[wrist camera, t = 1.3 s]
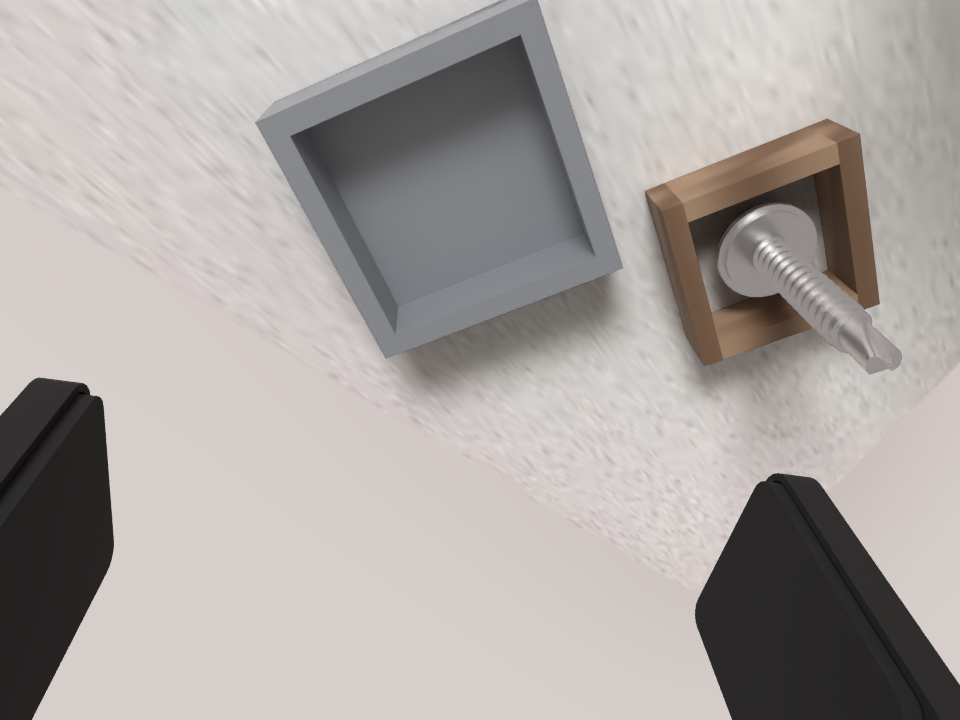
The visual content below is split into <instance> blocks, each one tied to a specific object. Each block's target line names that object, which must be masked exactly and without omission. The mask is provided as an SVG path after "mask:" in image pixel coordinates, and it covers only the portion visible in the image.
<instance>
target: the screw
mask: <svg viewBox="0 0 960 720" xmlns="http://www.w3.org/2000/svg"><path fill="white" fill-rule="evenodd" d="M817 242H818V239H817V231H816V228H815V226H814V223H813V221H812V220H811V219H810V217H809V216H808V215H807V214H806V213H804V212H803V211H802V210H800V209H799V208H798V207H796V206H793V205H791V204H788V203H781V202H773V203H765V204H762V205H758V206H755V207H753V208H751V209H749V210H747V211H745V212H744V213H743V214H741V215H740V216H739V217H737V218H736V219H735V220H734V221H733V222H732V223H731V224H730V226H729V227H728V228H727V229H726V231H725V233H724V234H723V236H722V238H721V240H720V243H719V245H718V249H717V256H716V260H717V268H718V271H719V274H720V276H721V277H722V279H723V280H724V282H725V283H726V284H727V285H728V286H729V287H730V288H731V289H732V290H733V291H735V292H737V293H739V294H741V295H745V296H749V297H765V296H770V295H774V294H776V293H780V294H781V295H782V297H783V298H784V299H786V300H787V302H788V303H789V304H790V305H792V307H793V308H794V309H795V310H796V311H798V313H799V314H800V315H801V316H802V317H803V318H804V319H805V320H806V322H808V323H809V324H810V325H811V326H812V328H813V329H814V330H816V331H817V333H818V334H819V335H820V336H821V337H823V338H824V339H825V340H826V342H828V343H829V344H830V345H833V346H834V347H835V348H836V349H837V350H839V351H841V352H844V353H849V354H850V355H851V356H852V357H853V358H854V359H855V360H856V361H857V362H858V363H859V364H860V365H861V366H862V367H863V368H864V369H865V370H866V371H867V372H868V373H869V374H873V373H876V372H879V371H882V370H886V369H889V370H894V369H896V368H897V367H898V366H899V365H900V363H901V360H902V354H901V351H900V350H899V349H898V348H897V347H896V346H894V345H893V344H892V343H891V342H890V341H889V340H888V339H887V338H885V337H884V336H883V335H882V334H881V333H880V332H879V331H878V330H876V329H875V328H874V327H873V326H872V318H871V316H870V315H869V314H868V313H867V312H865V310H864V308H863V307H862V306H861V305H860V304H858V303H856V301H855V300H854V299H853V298H851V297H849V295H848V294H847V293H846V292H845V291H842V289H841V288H840V287H839V286H838V285H835V283H834V282H833V281H832V280H831V279H829V278H828V277H827V276H826V275H825V274H823V273H822V272H821V271H820V270H819V269H818V268H816V267H815V265H814V264H812V261H813V259H814V256H815V253H816V250H817Z"/></svg>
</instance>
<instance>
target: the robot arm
mask: <svg viewBox="0 0 960 720" xmlns="http://www.w3.org/2000/svg"><path fill="white" fill-rule="evenodd" d="M106 446H107V445H106V432H105V419H104V406H103V401H102V399H101V398H100V397H98V396H91V395H90V391H89V389H88V387H87V385H85V384H83V383H77V382H69V381H61V380H53V379H46V378H36V379H34V380H33V381H32V382H30V383H29V384H28V385H27V387H26V388H25V389H24V390H23V391H22V392H21V393H20V394H19V396H18V397H17V398H16V399H15V400H14V401H13V402H12V403H11V404H10V406H9V407H8V408H7V409H6V410H5V411H4V412H3V413H2V415H1V416H0V720H32V718H33V716H34V714H35V712H36V710H37V708H38V706H39V704H40V702H41V700H42V699H43V696H44V695H45V693H46V691H47V689H48V687H49V685H50V683H51V681H52V679H53V677H54V675H55V673H56V671H57V669H58V667H59V665H60V663H61V661H62V659H63V657H64V655H65V653H66V651H67V649H68V647H69V646H70V644H71V642H72V640H73V638H74V636H75V634H76V632H77V630H78V628H79V626H80V624H81V622H82V620H83V618H84V616H85V614H86V612H87V610H88V608H89V606H90V604H91V602H92V600H93V598H94V596H95V594H96V593H97V590H98V588H99V587H100V585H101V583H102V581H103V579H104V577H105V575H106V573H107V571H108V568H109V566H110V563H111V560H112V555H113V549H114V539H113V524H112V511H111V498H110V485H109V472H108V459H107V447H106ZM695 619H696V624H697V628H698V630H699V633H700V636H701V638H702V641H703V644H704V646H705V649H706V651H707V654H708V656H709V660H710V662H711V665H712V668H713V670H714V673H715V675H716V678H717V681H718V683H719V686H720V689H721V691H722V694H723V697H724V699H725V702H726V705H727V707H728V710H729V713H730V715H731V718H732V720H960V685H959V683H958V682H957V680H956V679H955V678H954V676H953V675H952V673H951V672H950V671H949V669H948V667H947V666H946V665H945V663H944V662H943V660H942V659H941V657H940V656H939V655H938V653H937V652H936V650H935V649H934V647H933V646H932V644H931V643H930V642H929V640H928V639H927V637H926V636H925V634H924V633H923V632H922V630H921V629H920V627H919V626H918V624H917V623H916V621H915V620H914V619H913V617H912V616H911V614H910V613H909V611H908V610H907V608H906V607H905V606H904V604H903V603H902V601H901V600H900V599H899V597H898V596H897V594H896V593H895V591H894V590H893V588H892V587H891V586H890V584H889V583H888V581H887V580H886V578H885V577H884V575H883V574H882V572H881V571H880V570H879V568H878V567H877V565H876V564H875V562H874V561H873V560H872V558H871V557H870V555H869V554H868V552H867V551H866V549H865V548H864V547H863V545H862V544H861V542H860V541H859V539H858V538H857V537H856V535H855V534H854V532H853V531H852V529H851V528H850V526H849V525H848V524H847V522H846V521H845V519H844V518H843V516H842V515H841V514H840V512H839V511H838V509H837V508H836V506H835V505H834V503H833V502H832V501H831V499H830V498H829V496H828V495H827V493H826V492H825V490H824V489H823V488H822V486H821V485H820V484H819V483H818V482H817V481H816V480H815V479H813V478H810V477H803V476H795V475H787V474H780V473H777V474H773V475H771V476H770V477H768V479H767V480H766V481H763V482H760V483H758V484H757V486H756V487H755V489H754V491H753V493H752V494H751V496H750V498H749V500H748V502H747V504H746V506H745V508H744V510H743V512H742V514H741V516H740V518H739V520H738V522H737V524H736V526H735V528H734V530H733V532H732V534H731V536H730V538H729V540H728V542H727V544H726V545H725V547H724V549H723V551H722V553H721V555H720V557H719V559H718V561H717V563H716V565H715V567H714V569H713V571H712V573H711V575H710V577H709V579H708V581H707V583H706V585H705V587H704V589H703V591H702V593H701V595H700V597H699V598H698V601H697V603H696V609H695Z"/></svg>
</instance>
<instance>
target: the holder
mask: <svg viewBox="0 0 960 720" xmlns="http://www.w3.org/2000/svg"><path fill="white" fill-rule="evenodd" d="M812 174H814V179H815V186H816V192H817V198H818V205H819V211H820V218H821V224H822V231H823V237H824V244H825V250H826V257H827V263H828V271H825V272H822V273H823V274H825V275H826V276H827V277H828V278H829V279H831V280H832V281H833V282H834V283H835V285H838V286H839V287H840V288H841V289H842V291H845V292H846V293H847V294H848V295H849V297H851V298H853V299H854V300H855V301H856V303H858V304H860V305H861V306H862V307H863V308H864V309H867V308H870V307H873V306H875V305H878V304H880V302H879V294H878V285H877V277H876V268H875V259H874V251H873V242H872V234H871V225H870V217H869V208H868V199H867V191H866V182H865V174H864V165H863V157H862V148H861V139H860V134H859V133H857V132H854V131H852V130H850V129H848V128H846V127H844V126H842V125H839V124H837V123H835V122H833V121H831V120H829V119H826V120H823V121H821V122H818V123H816V124H813V125H811V126H808V127H806V128H803V129H801V130H798V131H796V132H793V133H790V134H788V135H785V136H783V137H780V138H778V139H775V140H773V141H770V142H768V143H765V144H763V145H760V146H758V147H755V148H753V149H750V150H747V151H745V152H742V153H740V154H737V155H735V156H732V157H730V158H727V159H725V160H722V161H720V162H717V163H715V164H712V165H710V166H707V167H705V168H702V169H699V170H697V171H694V172H692V173H689V174H687V175H684V176H682V177H679V178H677V179H674V180H672V181H669V182H667V183H664V184H662V185H659V186H657V187H654V188H651V189H649V190H646V191H645V193H646V197H647V200H648V204H649V207H650V211H651V214H652V218H653V221H654V225H655V228H656V232H657V235H658V239H659V242H660V246H661V249H662V253H663V256H664V260H665V263H666V267H667V270H668V274H669V277H670V281H671V284H672V288H673V292H674V295H675V299H676V302H677V306H678V309H679V313H680V316H681V320H682V323H683V327H684V330H685V334H686V337H687V339H688V341H689V342H690V344H691V346H692V347H693V349H694V350H695V352H696V354H697V355H698V357H699V358H700V360H701V361H702V363H703V365H704V366H706V365H709V364H712V363H715V362H718V361H721V360H723V359H726V358H729V357H732V356H735V355H737V354H740V353H743V352H746V351H749V350H752V349H754V348H757V347H760V346H763V345H766V344H768V343H771V342H774V341H777V340H780V339H782V338H785V337H788V336H791V335H794V334H797V333H799V332H802V331H805V330H808V329H811V328H812V326H811V325H810V324H809V323H808V322H806V320H805V319H804V318H803V317H802V316H801V315H800V314H799V313H798V311H796V310H795V309H794V308H793V307H792V305H790V304H789V303H788V302H787V300H786V299H784V298H783V297H782V295H781V294H780V293H776V294H774V295H770V296H765V297H754V298H751V299H748V300H745V301H743V302H740V303H737V304H735V305H732V306H729V307H726V308H724V309H721V310H718V311H715V312H713V313H711V310H710V306H709V302H708V298H707V294H706V290H705V286H704V283H703V279H702V275H701V271H700V267H699V263H698V259H697V256H696V252H695V248H694V244H693V240H692V236H691V232H690V228H689V225H688V222H691V221H693V220H696V219H698V218H701V217H704V216H706V215H709V214H711V213H714V212H716V211H719V210H722V209H724V208H727V207H729V206H732V205H735V204H737V203H740V202H742V201H745V200H748V199H750V198H753V197H755V196H758V195H761V194H763V193H766V192H768V191H771V190H774V189H776V188H779V187H781V186H784V185H786V184H789V183H792V182H794V181H797V180H799V179H802V178H805V177H807V176H810V175H812Z"/></svg>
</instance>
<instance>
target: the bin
mask: <svg viewBox="0 0 960 720" xmlns="http://www.w3.org/2000/svg"><path fill="white" fill-rule="evenodd" d="M255 123H256V125H257V126H258V128H259V130H260V132H261V134H262V135H263V137H264V139H265V141H266V143H267V145H268V146H269V148H270V150H271V152H272V154H273V155H274V157H275V159H276V161H277V163H278V164H279V166H280V168H281V170H282V172H283V174H284V175H285V177H286V179H287V181H288V183H289V184H290V186H291V188H292V190H293V192H294V193H295V195H296V197H297V199H298V201H299V203H300V204H301V206H302V208H303V210H304V212H305V213H306V215H307V217H308V219H309V221H310V223H311V224H312V226H313V228H314V230H315V232H316V233H317V235H318V237H319V239H320V241H321V242H322V244H323V246H324V248H325V250H326V252H327V253H328V255H329V257H330V259H331V261H332V262H333V264H334V266H335V268H336V270H337V272H338V273H339V275H340V277H341V279H342V281H343V282H344V284H345V286H346V288H347V290H348V291H349V293H350V295H351V297H352V299H353V301H354V302H355V304H356V306H357V308H358V310H359V311H360V313H361V315H362V317H363V319H364V320H365V322H366V324H367V326H368V328H369V330H370V331H371V333H372V335H373V337H374V339H375V340H376V342H377V344H378V346H379V348H380V350H381V351H382V353H383V355H384V357H385V359H386V358H389V357H392V356H394V355H397V354H399V353H402V352H405V351H407V350H410V349H413V348H415V347H418V346H420V345H423V344H426V343H428V342H431V341H434V340H436V339H439V338H441V337H444V336H447V335H449V334H452V333H455V332H457V331H460V330H462V329H465V328H468V327H470V326H473V325H475V324H478V323H481V322H483V321H486V320H489V319H491V318H494V317H496V316H499V315H502V314H504V313H507V312H510V311H512V310H515V309H517V308H520V307H523V306H525V305H528V304H531V303H533V302H536V301H538V300H541V299H544V298H546V297H549V296H552V295H554V294H557V293H559V292H562V291H565V290H567V289H570V288H572V287H575V286H578V285H580V284H583V283H586V282H588V281H591V280H593V279H596V278H599V277H601V276H604V275H607V274H609V273H612V272H614V271H617V270H620V269H622V268H623V266H622V263H621V260H620V256H619V253H618V250H617V247H616V244H615V241H614V238H613V235H612V231H611V228H610V225H609V222H608V219H607V216H606V213H605V210H604V206H603V203H602V200H601V197H600V194H599V191H598V188H597V184H596V181H595V178H594V175H593V172H592V169H591V166H590V163H589V159H588V156H587V153H586V150H585V147H584V144H583V141H582V138H581V134H580V131H579V128H578V125H577V122H576V119H575V116H574V113H573V109H572V106H571V103H570V100H569V97H568V94H567V91H566V88H565V84H564V81H563V78H562V75H561V72H560V69H559V66H558V62H557V59H556V56H555V53H554V50H553V47H552V44H551V41H550V37H549V34H548V31H547V28H546V25H545V22H544V19H543V16H542V12H541V9H540V6H539V3H538V0H501V1H499V2H497V3H494V4H492V5H490V6H488V7H485V8H483V9H481V10H479V11H477V12H474V13H472V14H470V15H468V16H465V17H463V18H461V19H459V20H456V21H454V22H452V23H450V24H448V25H445V26H443V27H441V28H439V29H436V30H434V31H432V32H430V33H427V34H425V35H423V36H421V37H419V38H416V39H414V40H412V41H410V42H407V43H405V44H403V45H401V46H398V47H396V48H394V49H392V50H390V51H387V52H385V53H383V54H381V55H378V56H376V57H374V58H372V59H370V60H367V61H365V62H363V63H361V64H358V65H356V66H354V67H352V68H349V69H347V70H345V71H343V72H341V73H338V74H336V75H334V76H332V77H329V78H327V79H325V80H323V81H320V82H318V83H316V84H314V85H312V86H309V87H307V88H305V89H303V90H300V91H298V92H296V93H294V94H291V95H289V96H287V97H285V98H283V99H280V100H278V101H276V102H274V103H273V104H272V105H271V106H270V107H269V108H268V109H267V110H266V111H265V113H264V114H263V115H262V116H261V117H260V118H259V119H258V120H257V121H256V122H255Z"/></svg>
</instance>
